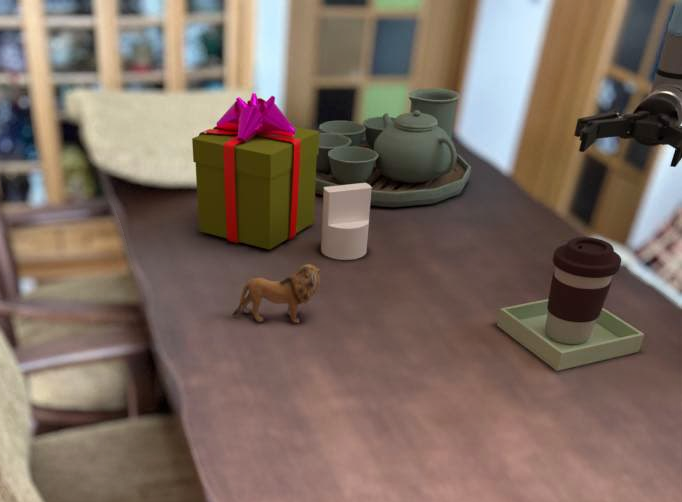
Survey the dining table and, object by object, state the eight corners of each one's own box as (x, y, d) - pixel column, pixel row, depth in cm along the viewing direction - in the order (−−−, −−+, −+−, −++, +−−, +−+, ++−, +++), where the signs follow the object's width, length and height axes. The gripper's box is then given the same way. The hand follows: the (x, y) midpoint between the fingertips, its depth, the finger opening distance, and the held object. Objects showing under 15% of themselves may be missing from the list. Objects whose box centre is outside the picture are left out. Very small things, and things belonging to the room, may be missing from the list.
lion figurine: (316, 309, 142) (318, 258, 136) (319, 323, 139) (322, 272, 133) (231, 311, 142) (230, 260, 136) (232, 325, 138) (231, 273, 132)
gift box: (230, 206, 179) (226, 77, 162) (320, 220, 173) (326, 88, 157) (188, 240, 165) (180, 103, 148) (286, 256, 159) (288, 115, 142)
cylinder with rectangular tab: (356, 239, 166) (360, 177, 158) (373, 256, 159) (379, 193, 152) (314, 244, 164) (316, 182, 156) (330, 262, 157) (334, 198, 149)
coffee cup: (610, 339, 134) (638, 248, 124) (570, 355, 130) (595, 263, 120) (563, 315, 140) (586, 228, 130) (523, 330, 136) (543, 241, 126)
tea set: (336, 144, 213) (340, 73, 202) (487, 168, 200) (500, 92, 189) (267, 191, 186) (268, 111, 175) (437, 222, 173) (449, 138, 162)
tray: (638, 351, 132) (644, 334, 130) (556, 371, 128) (561, 353, 125) (574, 309, 143) (579, 292, 141) (496, 325, 139) (500, 308, 137)
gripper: (729, 153, 135) (707, 190, 122) (578, 129, 145) (541, 162, 131) (747, 102, 130) (725, 135, 117) (589, 82, 140) (552, 110, 126)
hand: (628, 149), depth 124 cm, fingers open, 13 cm apart
